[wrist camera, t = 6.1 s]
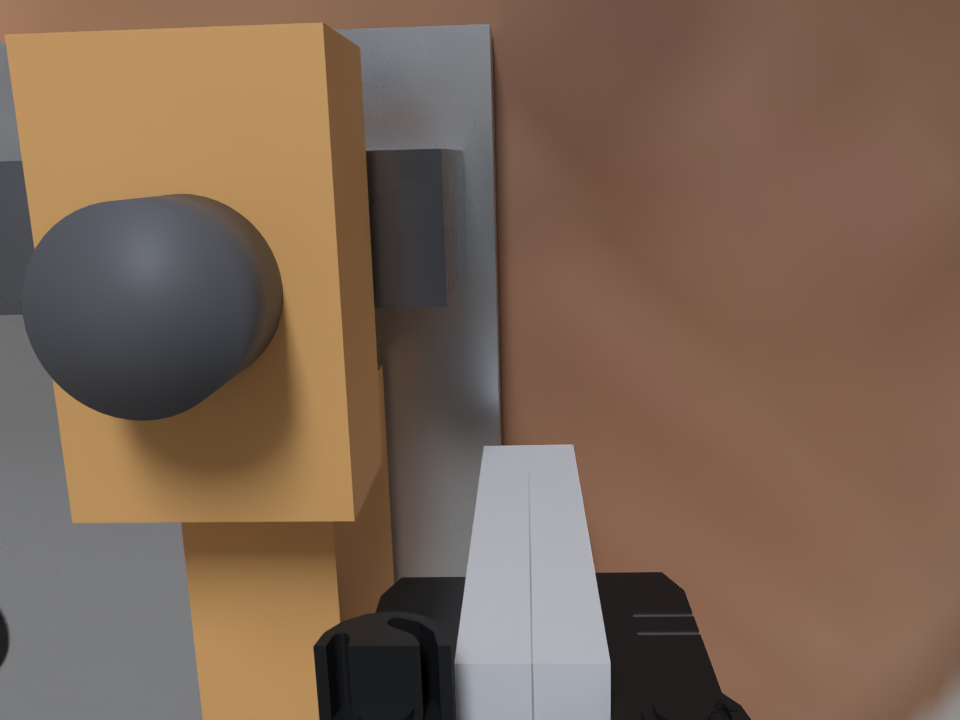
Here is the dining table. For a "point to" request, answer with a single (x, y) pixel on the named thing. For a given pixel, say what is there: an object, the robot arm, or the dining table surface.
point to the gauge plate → (400, 350)
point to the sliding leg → (215, 325)
